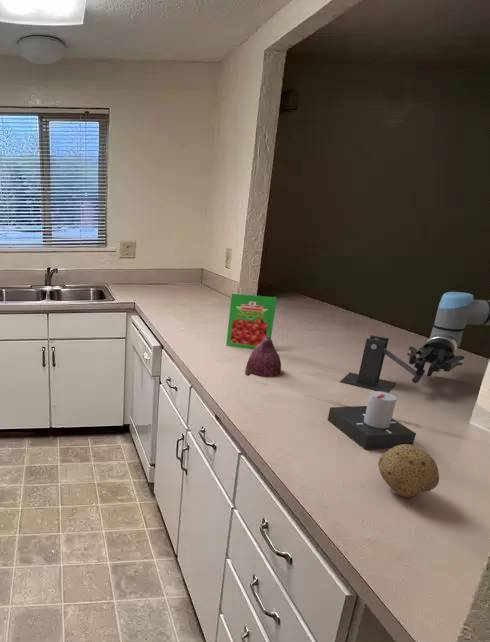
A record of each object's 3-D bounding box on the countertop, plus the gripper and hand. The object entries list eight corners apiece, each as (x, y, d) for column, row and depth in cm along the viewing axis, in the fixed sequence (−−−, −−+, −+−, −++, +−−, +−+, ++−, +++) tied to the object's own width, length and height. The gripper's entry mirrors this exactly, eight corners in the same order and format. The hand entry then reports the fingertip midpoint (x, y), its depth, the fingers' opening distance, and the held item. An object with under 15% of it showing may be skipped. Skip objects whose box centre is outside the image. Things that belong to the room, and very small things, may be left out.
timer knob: (370, 416, 102) (377, 388, 100) (393, 424, 98) (401, 395, 96) (359, 422, 100) (366, 393, 97) (383, 430, 96) (390, 401, 93)
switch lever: (420, 376, 121) (428, 370, 120) (414, 385, 115) (421, 379, 114) (372, 340, 127) (379, 334, 126) (364, 348, 121) (371, 341, 120)
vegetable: (274, 391, 133) (287, 351, 124) (240, 381, 137) (250, 342, 128) (281, 373, 140) (293, 334, 131) (248, 364, 144) (258, 325, 135)
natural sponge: (360, 482, 84) (371, 437, 81) (398, 475, 86) (410, 431, 83) (402, 512, 76) (416, 463, 73) (442, 504, 78) (458, 456, 74)
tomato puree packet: (225, 346, 165) (231, 293, 158) (226, 345, 166) (232, 293, 159) (268, 351, 158) (276, 297, 151) (269, 350, 159) (276, 297, 152)
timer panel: (412, 447, 96) (416, 432, 95) (364, 449, 95) (368, 434, 94) (369, 418, 109) (372, 404, 108) (327, 419, 108) (330, 406, 107)
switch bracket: (394, 387, 127) (407, 338, 122) (386, 397, 120) (399, 347, 115) (349, 376, 135) (358, 330, 130) (338, 385, 128) (348, 338, 123)
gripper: (466, 367, 127) (455, 391, 111) (406, 355, 137) (388, 376, 121) (474, 342, 124) (464, 364, 109) (412, 333, 134) (394, 351, 119)
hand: (424, 370), depth 115 cm, fingers closed
